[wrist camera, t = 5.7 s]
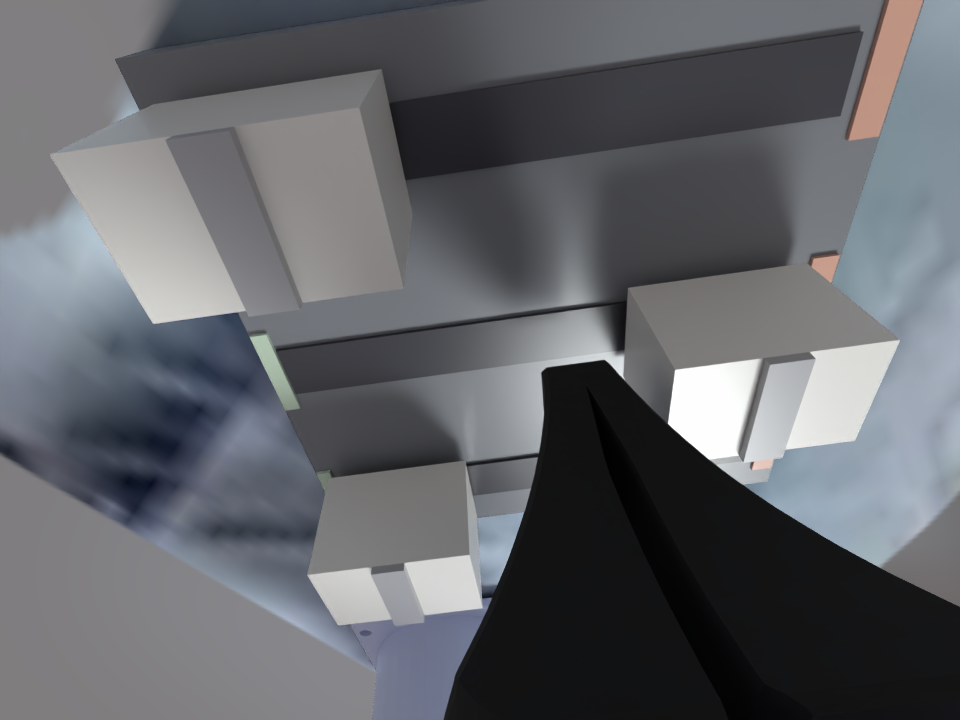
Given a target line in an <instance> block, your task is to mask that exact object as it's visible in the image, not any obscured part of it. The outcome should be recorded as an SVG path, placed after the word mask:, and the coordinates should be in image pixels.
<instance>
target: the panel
mask: <svg viewBox="0 0 960 720" xmlns="http://www.w3.org/2000/svg"><path fill="white" fill-rule="evenodd" d="M923 3H924V0H461V1H455V2H449V3H442V4H436V5H430V6H423V7H417V8H410V9H404V10H398V11H391V12H385V13H379V14H372V15H366V16H360V17H353V18H347V19H341V20H334V21H328V22H321V23H315V24H309V25H302V26H296V27H290V28H283V29H277V30H271V31H264V32H258V33H252V34H245V35H239V36H233V37H226V38H220V39H213V40H207V41H201V42H194V43H188V44H182V45H175V46H169V47H163V48H156V49H150V50H145V51H141V52H138V53H135V54H131V55H128V56H124V57H121V58H118V59H115V60H116V63H117V64H118V66H119V68H120V71H121V73H122V75H123V77H124V79H125V81H126V83H127V85H128V87H129V89H130V91H131V93H132V95H133V98H134V100H135V102H136V104H137V106H138V108H139V110H140V111H141V110H143V109H145V108H147V107H149V106H151V105H153V104H158V103H164V102H171V101H177V100H184V99H190V98H197V97H203V96H210V95H216V94H223V93H229V92H236V91H242V90H249V89H255V88H262V87H268V86H275V85H281V84H288V83H294V82H301V81H307V80H314V79H320V78H327V77H333V76H340V75H346V74H353V73H359V72H366V71H372V70H379V69H382V74H383V78H384V83H385V88H386V92H387V97H388V102H389V106H390V111H391V116H392V120H393V125H394V130H395V134H396V139H397V144H398V148H399V153H400V158H401V162H402V167H403V172H404V177H405V181H406V186H407V191H408V195H409V200H410V205H411V209H412V214H413V216H412V224H411V233H410V241H409V250H408V258H407V267H406V275H405V284H404V289H398V290H391V291H384V292H377V293H370V294H362V295H355V296H348V297H341V298H334V299H327V300H320V301H313V302H306V303H302V306H301V308H300V310H294V311H287V312H280V313H273V314H266V315H258V316H251V317H249V316H248V314H247V312H246V311H242V312H238V314H239V316H240V318H241V320H242V322H243V324H244V326H245V328H246V330H247V332H248V334H249V336H250V339H251V341H252V343H253V345H254V347H255V349H256V351H257V353H258V355H259V357H260V360H261V362H262V364H263V366H264V368H265V370H266V372H267V374H268V376H269V378H270V380H271V382H272V384H273V386H274V388H275V390H276V392H277V395H278V397H279V399H280V401H281V403H282V405H283V407H284V409H285V411H286V413H287V415H288V417H289V419H290V421H291V423H292V425H293V427H294V429H295V431H296V433H297V435H298V437H299V439H300V442H301V444H302V446H303V448H304V450H305V452H306V454H307V456H308V458H309V460H310V462H311V464H312V466H313V468H314V470H315V472H316V475H317V477H318V479H319V481H320V483H321V485H322V487H323V489H324V491H325V492H326V487H327V483H328V478H335V477H343V476H351V475H358V474H366V473H374V472H381V471H389V470H397V469H404V468H412V467H420V466H427V465H435V464H443V463H450V462H458V461H465V462H466V467H467V471H468V476H469V481H470V485H471V490H472V495H473V499H474V504H475V509H476V513H477V518H482V517H489V516H497V515H505V514H513V513H521V512H525V508H526V505H527V501H528V498H529V494H530V490H531V486H532V482H533V478H534V474H535V469H536V464H537V459H538V454H539V449H540V444H541V437H542V428H543V419H544V407H543V392H542V378H541V372H542V371H543V370H544V369H545V368H546V367H553V366H561V365H568V364H576V363H583V362H591V361H598V360H606V361H607V362H608V363H609V364H610V365H611V366H612V367H613V368H614V369H615V370H616V371H617V373H618V374H619V375H620V376H621V377H622V378H623V379H624V377H623V370H624V352H625V334H626V315H627V297H628V288H630V287H637V286H645V285H652V284H659V283H666V282H673V281H681V280H688V279H695V278H702V277H709V276H716V275H724V274H731V273H738V272H745V271H752V270H760V269H767V268H774V267H781V266H788V265H796V264H803V263H807V264H808V265H810V266H811V267H812V268H813V269H814V270H816V271H817V272H818V273H819V274H821V275H822V276H823V277H824V278H825V279H827V280H828V281H829V282H830V283H831V284H832V282H833V278H834V275H835V272H836V269H837V266H838V263H839V260H840V257H841V254H842V251H843V248H844V245H845V242H846V239H847V236H848V232H849V229H850V226H851V223H852V220H853V217H854V214H855V211H856V208H857V205H858V202H859V199H860V196H861V193H862V190H863V187H864V183H865V180H866V177H867V174H868V171H869V168H870V165H871V162H872V159H873V156H874V153H875V150H876V147H877V144H878V141H879V138H880V134H881V131H882V128H883V125H884V122H885V119H886V116H887V113H888V110H889V107H890V104H891V101H892V98H893V95H894V92H895V89H896V85H897V82H898V79H899V76H900V73H901V70H902V67H903V64H904V61H905V58H906V55H907V52H908V49H909V46H910V43H911V40H912V36H913V33H914V30H915V27H916V24H917V21H918V18H919V15H920V12H921V9H922V6H923ZM624 380H625V379H624ZM709 460H711V461H712V462H713V463H714V464H716V465H717V466H718V467H719V468H721V469H722V470H723V471H725V472H726V473H727V474H729V475H730V476H731V477H733V478H734V479H735V480H737V481H738V482H740V483H741V484H750V483H758V482H766V481H768V478H769V474H770V471H771V468H772V465H773V462H774V459H770V460H762V461H754V462H746V463H743V462H742V460H741V458H740V457H739V456H732V457H724V458H716V459H709Z"/></svg>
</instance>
